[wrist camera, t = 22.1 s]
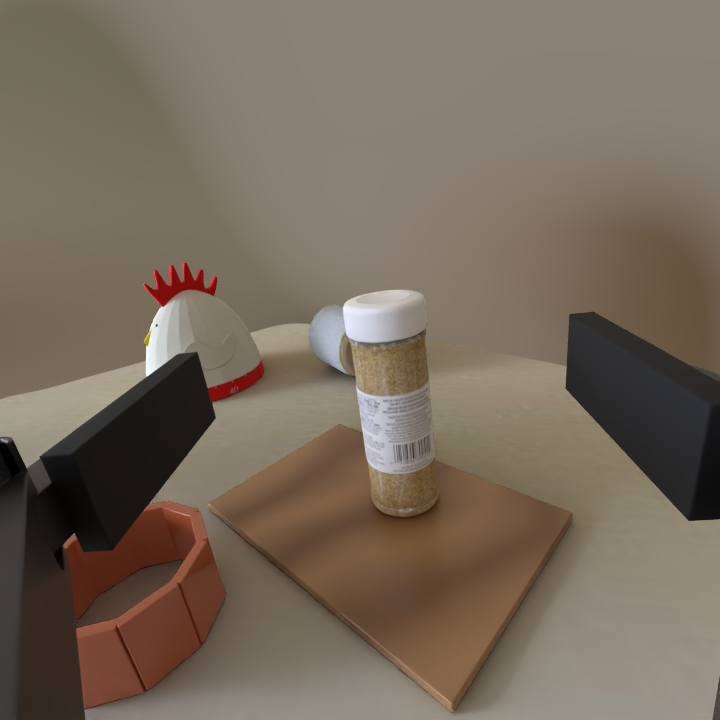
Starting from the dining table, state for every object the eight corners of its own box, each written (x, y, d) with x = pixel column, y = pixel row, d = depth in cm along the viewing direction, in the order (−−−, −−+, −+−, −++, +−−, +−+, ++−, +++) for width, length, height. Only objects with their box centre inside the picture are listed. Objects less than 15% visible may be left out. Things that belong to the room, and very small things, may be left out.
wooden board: (209, 509, 30) (207, 503, 30) (340, 429, 38) (339, 423, 38) (452, 714, 16) (452, 704, 16) (572, 520, 25) (572, 512, 25)
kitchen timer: (143, 384, 56) (105, 272, 51) (241, 354, 63) (217, 252, 58) (166, 418, 45) (121, 279, 40) (281, 377, 52) (255, 254, 47)
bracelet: (30, 631, 22) (-3, 575, 21) (186, 532, 28) (169, 483, 27) (69, 756, 17) (28, 691, 15) (255, 601, 22) (238, 543, 21)
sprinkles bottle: (430, 471, 30) (415, 283, 25) (447, 515, 26) (433, 299, 21) (367, 480, 30) (340, 294, 25) (373, 526, 26) (342, 312, 21)
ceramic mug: (345, 388, 47) (336, 321, 44) (312, 369, 53) (302, 310, 51) (419, 362, 52) (415, 300, 49) (380, 348, 58) (375, 293, 56)
